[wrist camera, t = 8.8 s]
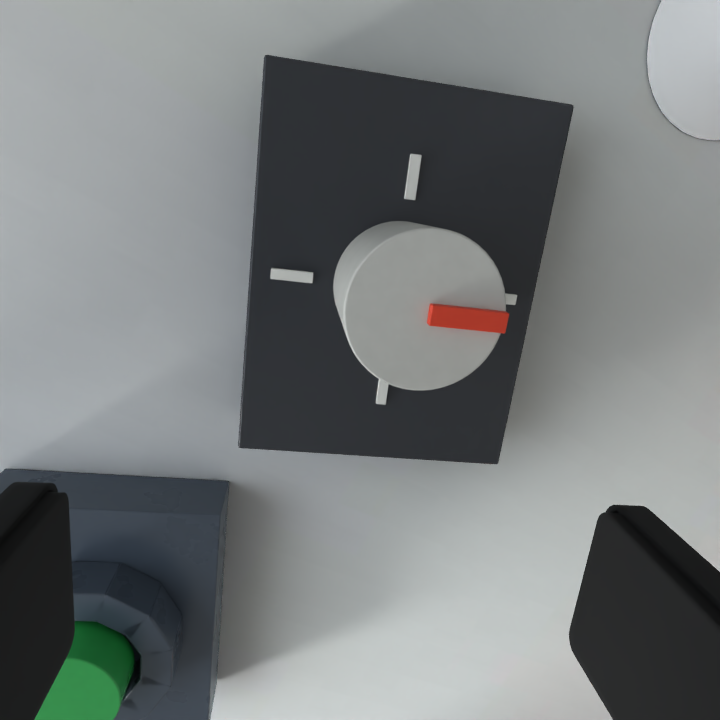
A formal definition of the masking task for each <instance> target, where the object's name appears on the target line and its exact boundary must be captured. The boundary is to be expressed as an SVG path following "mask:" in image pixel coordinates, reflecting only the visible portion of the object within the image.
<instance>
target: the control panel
mask: <svg viewBox="0 0 720 720" xmlns="http://www.w3.org/2000/svg"><path fill="white" fill-rule="evenodd" d="M572 112H573V105H571V104H565V103H559V102H553V101H546V100H540V99H534V98H528V97H522V96H516V95H510V94H504V93H497V92H491V91H485V90H479V89H473V88H467V87H461V86H455V85H448V84H442V83H436V82H430V81H424V80H418V79H412V78H405V77H399V76H393V75H387V74H381V73H375V72H369V71H363V70H356V69H350V68H344V67H338V66H332V65H326V64H320V63H314V62H307V61H301V60H295V59H289V58H283V57H277V56H271V55H265V57H264V67H263V82H262V97H261V112H260V127H259V142H258V157H257V172H256V186H255V201H254V216H253V231H252V246H251V261H250V276H249V291H248V306H247V321H246V336H245V351H244V366H243V381H242V396H241V411H240V426H239V441H238V446H239V448H250V449H266V450H281V451H297V452H313V453H328V454H344V455H359V456H375V457H391V458H406V459H422V460H437V461H453V462H469V463H484V464H498V461H499V456H500V452H501V447H502V442H503V437H504V433H505V428H506V423H507V419H508V414H509V409H510V404H511V400H512V395H513V390H514V386H515V381H516V376H517V371H518V367H519V362H520V357H521V353H522V348H523V343H524V338H525V334H526V329H527V324H528V320H529V315H530V310H531V305H532V301H533V296H534V291H535V287H536V282H537V277H538V272H539V268H540V263H541V258H542V254H543V249H544V244H545V239H546V235H547V230H548V225H549V221H550V216H551V211H552V206H553V202H554V197H555V192H556V188H557V183H558V178H559V173H560V169H561V164H562V159H563V155H564V150H565V145H566V140H567V136H568V131H569V126H570V122H571V117H572ZM391 221H407V222H412V223H417V224H422V225H427V226H432V227H437V228H442V229H447V230H451V231H454V232H457V233H460V234H462V235H464V236H466V237H468V238H470V239H471V240H472V241H474V242H475V243H477V244H478V245H479V246H480V247H481V248H482V249H483V250H484V251H485V252H486V253H487V254H488V255H489V256H490V258H491V259H492V260H493V262H494V264H495V265H496V267H497V269H498V271H499V273H500V276H501V278H502V281H503V285H504V289H505V297H506V312H507V313H509V318H508V323H507V328H506V333H501V334H500V336H499V339H498V341H497V343H496V345H495V347H494V348H493V350H492V352H491V353H490V354H489V356H488V357H487V358H486V360H485V361H484V362H483V363H482V364H481V365H480V366H479V367H478V368H477V369H476V370H474V371H473V372H472V373H471V374H469V375H468V376H466V377H465V378H463V379H461V380H460V381H458V382H456V383H454V384H451V385H448V386H445V387H442V388H438V389H433V390H423V391H422V390H408V389H402V388H399V387H395V386H392V385H390V384H388V383H385V382H383V381H382V380H380V379H378V378H377V377H375V376H374V375H373V374H371V373H370V372H369V371H368V370H367V369H366V368H365V367H364V366H363V365H362V364H361V363H360V362H359V360H358V359H357V357H356V356H355V354H354V353H353V351H352V349H351V347H350V345H349V342H348V339H347V337H346V334H345V331H344V328H343V325H342V322H341V319H340V316H339V313H338V310H337V307H336V304H335V299H334V292H333V283H334V275H335V271H336V267H337V264H338V262H339V260H340V258H341V255H342V254H343V252H344V251H345V249H346V248H347V247H348V245H349V244H350V243H351V242H352V241H353V240H354V239H355V238H356V237H357V236H358V235H360V234H361V233H362V232H364V231H365V230H367V229H369V228H371V227H373V226H376V225H378V224H381V223H386V222H391Z"/></svg>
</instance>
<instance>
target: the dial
mask: <svg viewBox="0 0 720 720" xmlns="http://www.w3.org/2000/svg"><path fill="white" fill-rule="evenodd" d="M333 292H334V299H335V304H336V307H337V310H338V313H339V316H340V319H341V322H342V325H343V328H344V331H345V334H346V337H347V339H348V342H349V345H350V347H351V349H352V351H353V353H354V354H355V356H356V357H357V359H358V360H359V362H360V363H361V364H362V365H363V366H364V367H365V368H366V369H367V370H368V371H369V372H370V373H371V374H373V375H374V376H375V377H377V378H378V379H380V380H382V381H383V382H385V383H388V384H390V385H392V386H395V387H399V388H402V389H408V390H422V391H423V390H433V389H438V388H442V387H445V386H448V385H451V384H454V383H456V382H458V381H460V380H461V379H463V378H465V377H466V376H468V375H469V374H471V373H472V372H473V371H474V370H476V369H477V368H478V367H479V366H480V365H481V364H482V363H483V362H484V361H485V360H486V358H487V357H488V356H489V354H490V353H491V352H492V350H493V348H494V347H495V345H496V343H497V341H498V339H499V336H500V334H501V333H506V328H507V323H508V318H509V313H507V312H506V297H505V289H504V285H503V281H502V278H501V276H500V273H499V271H498V269H497V267H496V265H495V264H494V262H493V260H492V259H491V258H490V256H489V255H488V254H487V253H486V252H485V251H484V250H483V249H482V248H481V247H480V246H479V245H478V244H477V243H475V242H474V241H472V240H471V239H470V238H468V237H466V236H464V235H462V234H460V233H457V232H454V231H451V230H447V229H442V228H437V227H432V226H427V225H422V224H417V223H412V222H407V221H391V222H386V223H381V224H378V225H376V226H373V227H371V228H369V229H367V230H365V231H364V232H362V233H361V234H360V235H358V236H357V237H356V238H355V239H354V240H353V241H352V242H351V243H350V244H349V245H348V247H347V248H346V249H345V251H344V252H343V254H342V255H341V258H340V260H339V262H338V264H337V267H336V271H335V275H334V283H333Z"/></svg>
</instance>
